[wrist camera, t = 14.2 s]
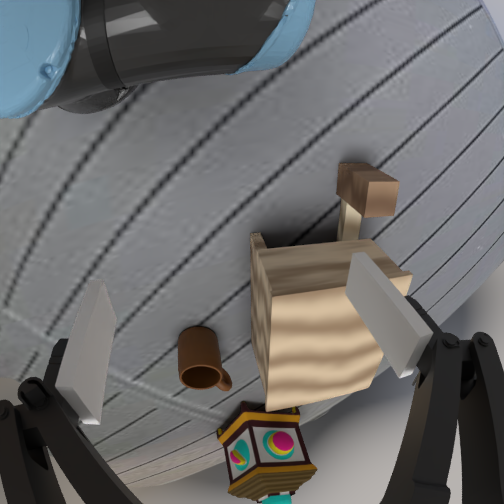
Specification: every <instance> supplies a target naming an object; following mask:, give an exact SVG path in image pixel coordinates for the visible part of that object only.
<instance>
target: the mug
mask: <svg viewBox="0 0 504 504" xmlns="http://www.w3.org/2000/svg"><path fill="white" fill-rule="evenodd" d="M178 371H179V378H180V381H181V382H182V384H183V385H185V386H186V387H188V388H191V389H197V390H204V389H209V388H212V387H214V386H217V387H218V388H219V389H220V390H222V391H229V390H230V389H231V388H232V381H231V378H230V376H229V374H228V373H227V372H226V371H225V370H224V369H223V368H222V364H221V357H220V351H219V345H218V340H217V337H216V335H215V333H214V332H212V331H211V330H210V329H208V328H204V327H192V328H189V329H186V330H185V331H183V332H182V333H181V335H180V336H179V339H178Z"/></svg>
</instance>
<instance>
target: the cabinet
mask: <svg viewBox="0 0 504 504" xmlns="http://www.w3.org/2000/svg"><path fill="white" fill-rule="evenodd" d="M358 252H365V253H366V254H367V255H368V256H369V257H370V258H371V260H372V261H373V262H374V263H375V264H376V265H377V266H378V267H379V268H380V270H381V271H382V272H383V273H384V274H385V275H386V276H387V278H388V279H389V280H390V281H391V282H392V283H393V284H394V286H395V287H396V288H397V289H398V290H399V291H400V293H401V294H402V295H403V296H406V294H407V291H408V288H409V285H410V282H411V279H412V276H413V274H412V273H411V272H410V271H409V270H408V271H402V270H401V269H400V268H399V267H398V266H397V265H396V264H395V263H394V262H393V261H392V260H391V259H390V258H389V257H388V256H387V255H386V254H385V253H384V252H383V251H382V250H381V249H380V248H379V247H378V246H377V245H376V244H375V243H374V242H373V241H372V240H371V239H360V240H350V241H340V242H330V243H320V244H310V245H300V246H290V247H280V248H270V249H267V247H266V245H265V242H264V240H263V238H262V236H261V234H260V233H250V254H251V339H252V346H253V350H254V354H255V358H256V362H257V365H258V369H259V373H260V377H261V381H262V384H263V388H264V392H265V396H266V399H265V409H266V412H269V411H274V410H280V409H285V408H290V407H295V406H300V405H304V404H309V403H313V402H317V401H321V400H325V399H329V398H333V397H337V396H341V395H345V394H348V393H352V392H355V391H359V390H362V389H365V388H369V385H370V384H371V382H372V379H373V377H374V375H375V373H376V371H377V368H378V366H379V364H380V362H381V359H382V357H383V355H384V353H383V352H382V350H381V348H380V347H379V345H378V344H377V342H376V340H375V339H374V337H373V336H372V334H371V333H370V331H369V329H368V328H367V326H366V325H365V323H364V322H363V320H362V319H361V317H360V316H359V314H358V312H357V311H356V309H355V308H354V306H353V305H352V303H351V302H350V300H349V299H348V297H347V296H346V294H345V290H346V285H347V280H348V275H349V269H350V264H351V259H352V253H358Z"/></svg>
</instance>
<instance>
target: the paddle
mask: <svg viewBox="0 0 504 504" xmlns="http://www.w3.org/2000/svg"><path fill="white" fill-rule="evenodd" d="M398 189H399V181H398V180H396V179H394V178H392V177H391V176H389V175H387V174H385V173H384V172H382V171H380V170H378V169H376V168H375V167H373V166H371V165H369V164H367V163H339V168H338V180H337V192H336V194H337V195H338V196H339V197H341V207H340V216H339V224H338V232H337V240H336V242H340V241H350V240H358V236H359V230H360V224H361V217H362V216H363V217H364V218H367V217H381V216H394V212H395V207H396V201H397V195H398Z"/></svg>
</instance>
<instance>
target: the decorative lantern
mask: <svg viewBox="0 0 504 504" xmlns="http://www.w3.org/2000/svg"><path fill="white" fill-rule="evenodd" d="M299 419H300V412H299V409H298V408H297V407H296V406H295V407H292V413H283V412H266V411H255V410H250V409H249V408H248V407H247V404H246V403H245V402H241V412H240V414H239V415H238V416H237V417H236V418H235V419H234V421H233V422H232V423H231V424H230V425H229V426H228V427H227V428H226V429H225V430H224V431H222V429H218V430H217V438H218V440H219V441H220V443H221V444H222V445H223V447H224V451H225V456H226V462H227V468H228V473H229V479H230V486H229V489H228V493H229V494H231V495H233V496H236V497H238V498H243V497H246V498H248V499H251V500H253V501H257V503H262V504H291V496H292V495H294V494H295V491H296V490H298V489H299V486H301V485H302V484H303V483H305V482H306V481H308V480H310V479H311V477H312V476H313V475H314V474H315V472H316V471H317V468H316V467H315V466H314V465H313V464H312V463H311V462H310V459H309V456H308V453H307V450H306V447H305V444H304V441H303V438H302V435H301V432H300V429H299Z"/></svg>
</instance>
